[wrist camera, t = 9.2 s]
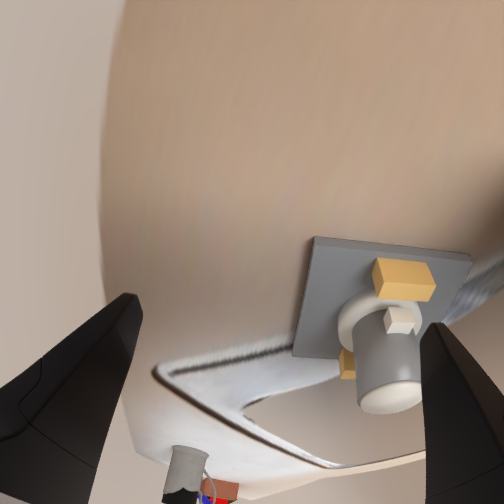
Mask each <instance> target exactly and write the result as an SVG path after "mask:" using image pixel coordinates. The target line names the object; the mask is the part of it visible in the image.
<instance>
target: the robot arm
mask: <svg viewBox="0 0 504 504" xmlns="http://www.w3.org/2000/svg"><path fill="white" fill-rule="evenodd" d="M142 319H143V311H142V308H141V305H140V302H139V299H138V296H137V295H136V294H132V293H123V294H121V295H120V296H119V297H117V298H116V299H115V300H113V301H112V302H111V303H109V304H108V305H107V306H106V307H104V308H103V309H102V310H100V311H99V312H98V313H96V314H95V315H94V316H93V317H91V318H90V319H89V320H87V321H86V322H85V323H84V324H82V325H81V326H80V327H78V328H77V329H76V330H75V331H73V332H72V333H71V334H70V335H68V336H67V337H66V338H65V339H63V340H62V341H61V342H60V343H58V344H57V345H56V346H55V347H53V348H52V349H51V350H50V351H48V352H47V353H46V354H45V355H44V356H43V357H42V358H40V359H39V360H38V361H36V362H35V363H34V364H32V365H31V366H30V367H29V368H28V369H26V370H25V371H24V372H22V373H21V374H20V375H18V376H17V377H15V378H14V379H13V380H12V381H10V382H9V383H7V384H6V385H4V386H3V387H1V388H0V504H88V501H89V497H90V493H91V489H92V486H93V482H94V478H95V475H96V471H97V467H98V463H99V460H100V457H101V453H102V450H103V446H104V443H105V440H106V437H107V433H108V430H109V427H110V424H111V421H112V418H113V414H114V411H115V408H116V405H117V402H118V399H119V397H120V394H121V391H122V388H123V385H124V382H125V379H126V376H127V374H128V371H129V368H130V365H131V362H132V359H133V355H134V351H135V347H136V343H137V339H138V335H139V331H140V327H141V323H142ZM420 370H421V393H422V403H423V414H424V427H425V445H426V499H425V504H504V396H503V395H502V393H501V392H500V391H499V389H498V388H497V386H496V385H495V384H494V383H493V381H492V380H491V379H490V377H489V376H488V375H487V374H486V372H485V371H484V370H483V369H482V368H481V366H480V365H479V364H478V363H477V361H476V360H475V359H474V358H473V357H472V355H471V354H470V353H469V352H468V351H467V349H466V348H465V347H464V346H463V345H462V344H461V342H460V341H459V340H458V339H457V338H456V337H455V336H454V334H453V333H452V332H451V331H450V330H449V329H448V328H447V326H446V325H445V324H444V323H441V322H432V323H431V324H430V325H429V326H428V328H427V329H426V331H425V333H424V334H423V336H422V337H421V340H420Z"/></svg>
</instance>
